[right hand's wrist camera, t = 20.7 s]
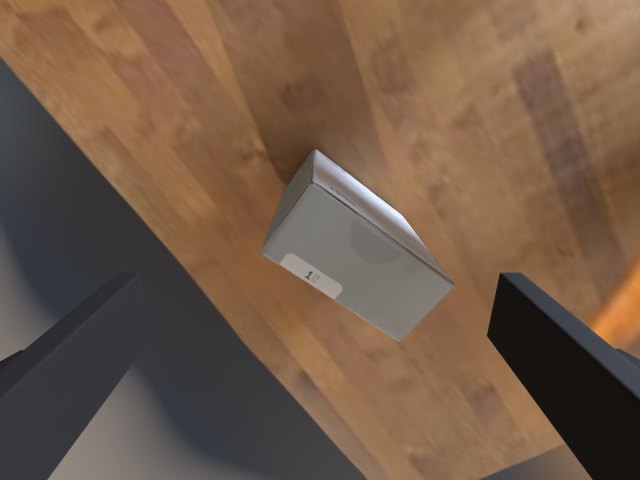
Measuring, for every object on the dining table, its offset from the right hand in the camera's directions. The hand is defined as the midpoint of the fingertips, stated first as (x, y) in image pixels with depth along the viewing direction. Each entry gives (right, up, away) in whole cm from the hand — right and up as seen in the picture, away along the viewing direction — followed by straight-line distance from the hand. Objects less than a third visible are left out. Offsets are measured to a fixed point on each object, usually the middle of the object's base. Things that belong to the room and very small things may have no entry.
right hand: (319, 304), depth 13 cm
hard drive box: (+3, +7, +34) cm, 35 cm away
